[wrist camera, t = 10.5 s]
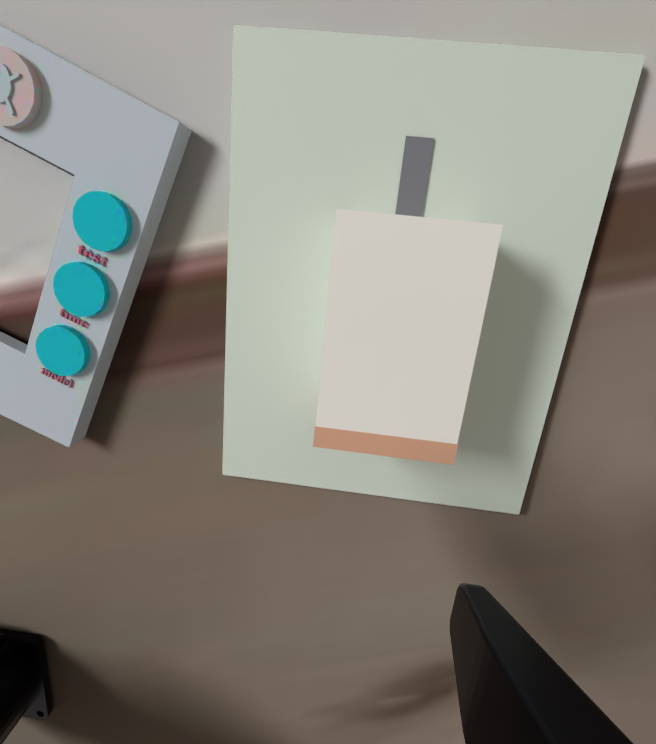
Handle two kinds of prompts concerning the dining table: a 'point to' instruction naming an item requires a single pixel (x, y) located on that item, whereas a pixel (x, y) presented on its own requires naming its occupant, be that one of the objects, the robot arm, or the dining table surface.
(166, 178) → the electronic device
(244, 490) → the dining table surface
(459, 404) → the block
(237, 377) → the mat
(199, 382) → the dining table surface
